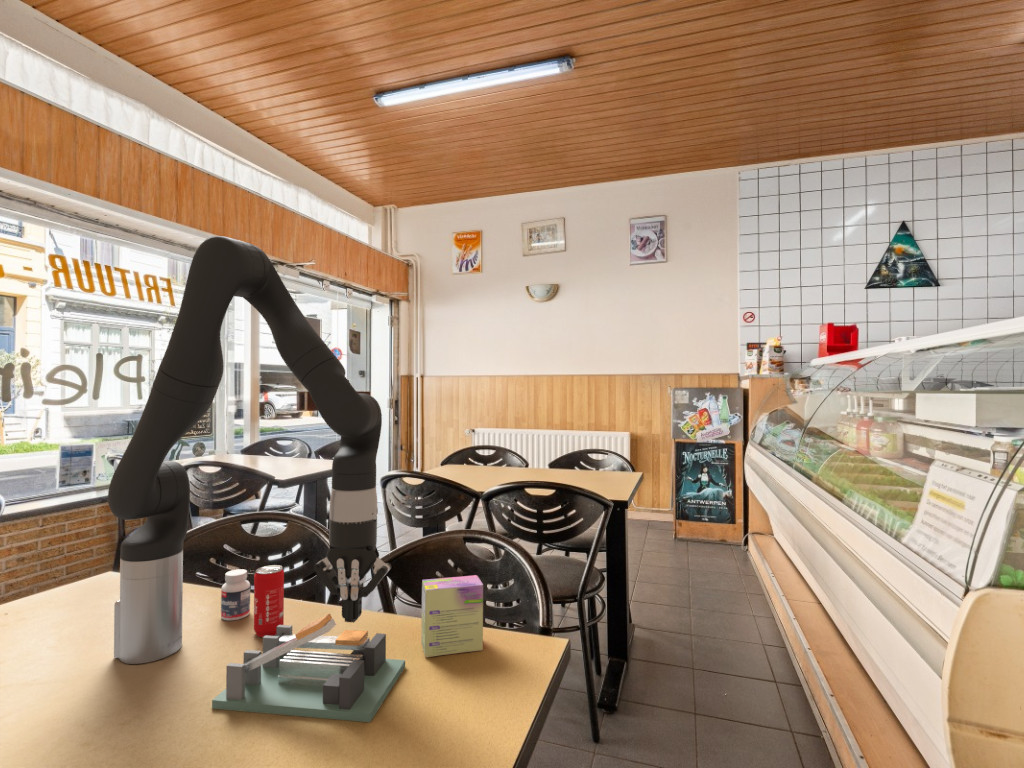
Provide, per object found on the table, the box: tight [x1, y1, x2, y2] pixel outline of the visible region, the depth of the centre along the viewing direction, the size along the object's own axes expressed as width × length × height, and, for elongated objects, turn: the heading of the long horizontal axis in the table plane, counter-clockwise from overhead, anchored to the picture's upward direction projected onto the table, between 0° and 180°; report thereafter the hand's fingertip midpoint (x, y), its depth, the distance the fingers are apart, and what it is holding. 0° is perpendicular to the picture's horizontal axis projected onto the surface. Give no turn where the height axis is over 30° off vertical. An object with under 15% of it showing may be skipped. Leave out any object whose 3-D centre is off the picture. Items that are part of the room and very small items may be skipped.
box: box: [420, 574, 484, 658], centre depth 97 cm, size 10×6×12 cm, turn 106°
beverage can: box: [253, 564, 285, 638], centre depth 103 cm, size 5×5×12 cm
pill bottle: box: [220, 568, 251, 622], centre depth 110 cm, size 5×5×9 cm
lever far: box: [278, 629, 371, 651], centre depth 89 cm, size 16×4×2 cm, turn 83°
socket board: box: [211, 624, 406, 723], centre depth 84 cm, size 24×15×6 cm, turn 83°
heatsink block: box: [278, 649, 363, 687], centre depth 84 cm, size 12×4×3 cm, turn 83°
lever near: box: [244, 613, 337, 673], centre depth 80 cm, size 16×4×2 cm, turn 83°
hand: (351, 620), depth 88 cm, fingers closed
